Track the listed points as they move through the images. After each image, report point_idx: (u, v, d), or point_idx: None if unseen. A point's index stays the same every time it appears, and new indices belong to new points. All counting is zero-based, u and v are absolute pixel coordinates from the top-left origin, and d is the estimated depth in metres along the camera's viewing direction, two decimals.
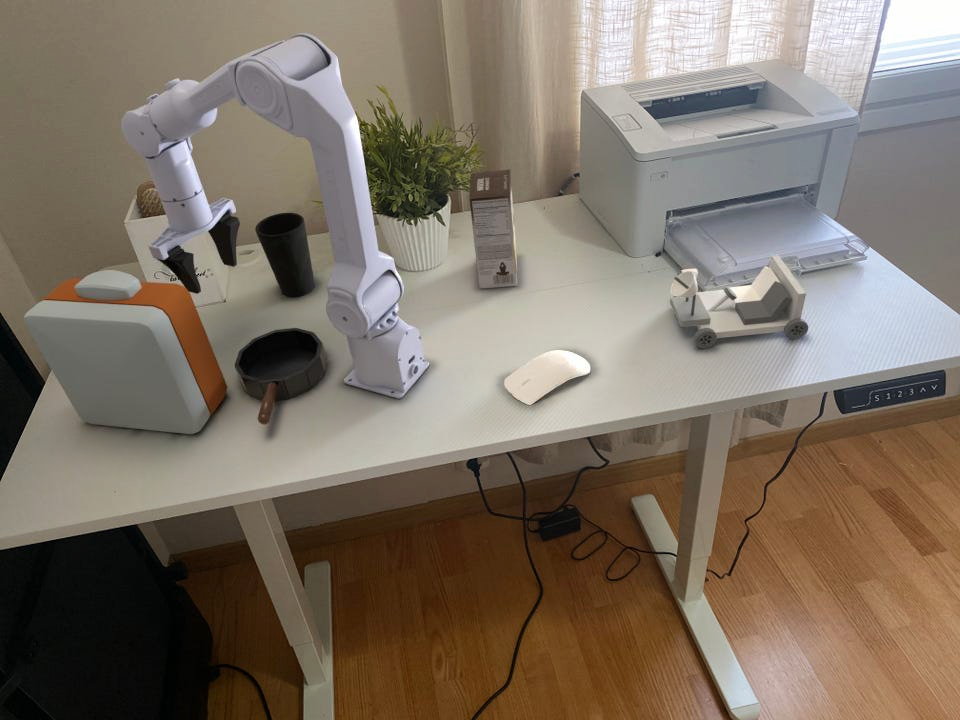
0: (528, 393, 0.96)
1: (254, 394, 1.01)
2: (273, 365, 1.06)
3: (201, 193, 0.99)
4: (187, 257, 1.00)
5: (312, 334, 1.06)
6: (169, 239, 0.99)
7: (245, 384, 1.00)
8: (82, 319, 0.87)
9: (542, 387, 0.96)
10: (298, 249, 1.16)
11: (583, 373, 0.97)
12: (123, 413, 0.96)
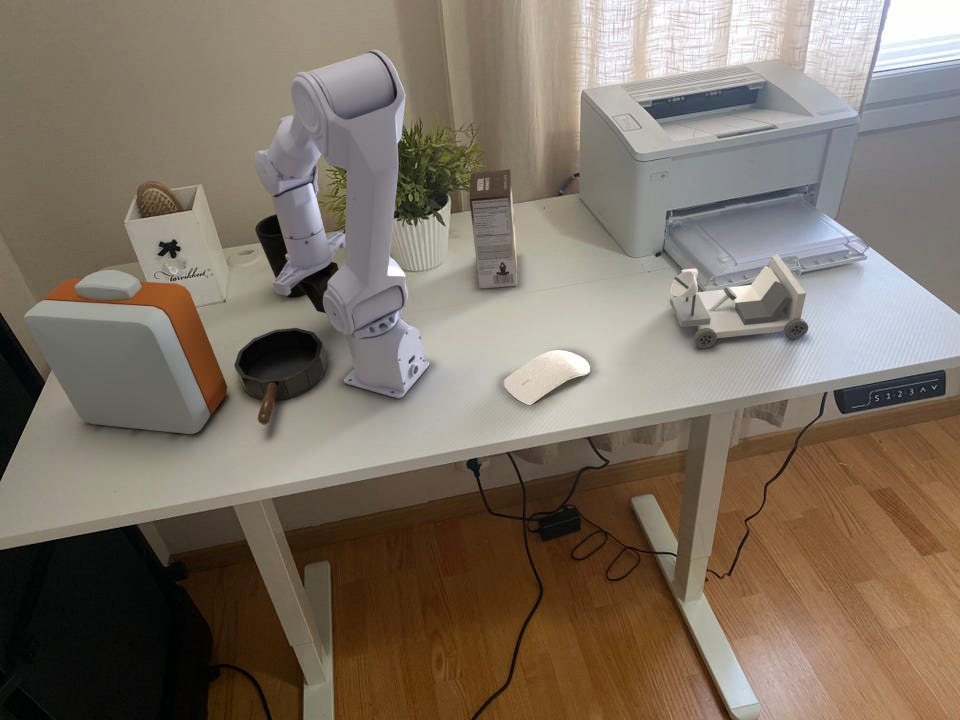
0: (528, 393, 0.96)
1: (254, 394, 1.01)
2: (273, 365, 1.06)
3: (322, 230, 1.01)
4: (324, 279, 1.04)
5: (312, 334, 1.06)
6: (292, 275, 1.01)
7: (245, 384, 1.00)
8: (82, 319, 0.87)
9: (542, 387, 0.96)
10: None
11: (583, 374, 0.98)
12: (123, 412, 0.96)
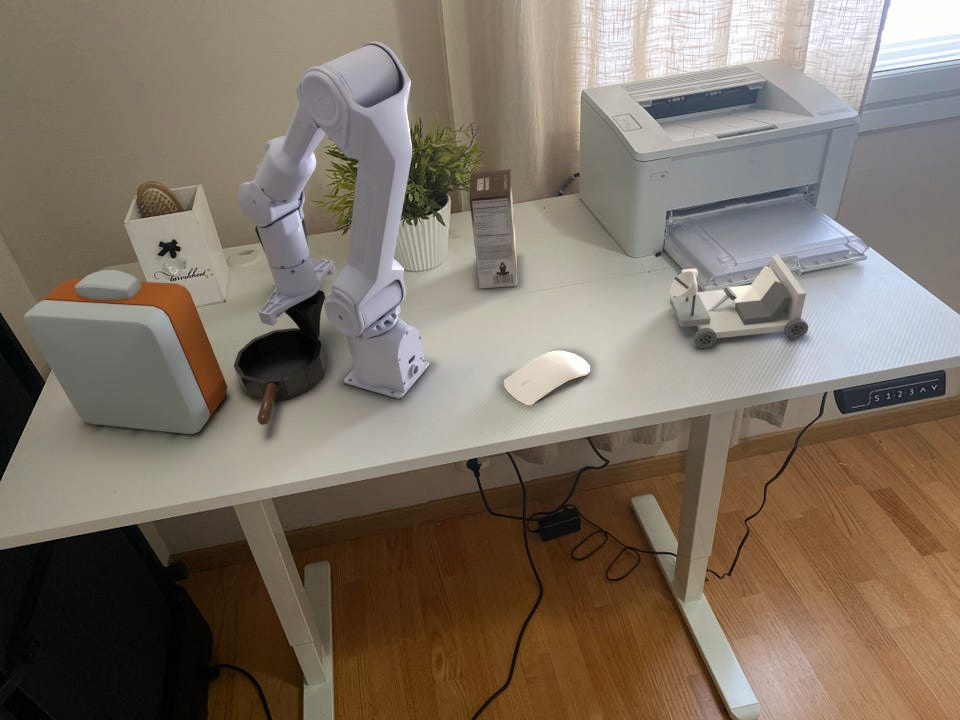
0: (528, 393, 0.96)
1: (254, 394, 1.01)
2: (273, 365, 1.06)
3: (309, 259, 1.00)
4: (311, 308, 1.03)
5: (311, 334, 1.06)
6: (278, 304, 1.00)
7: (245, 384, 1.00)
8: (82, 319, 0.87)
9: (542, 388, 0.96)
10: None
11: (583, 374, 0.98)
12: (123, 412, 0.96)
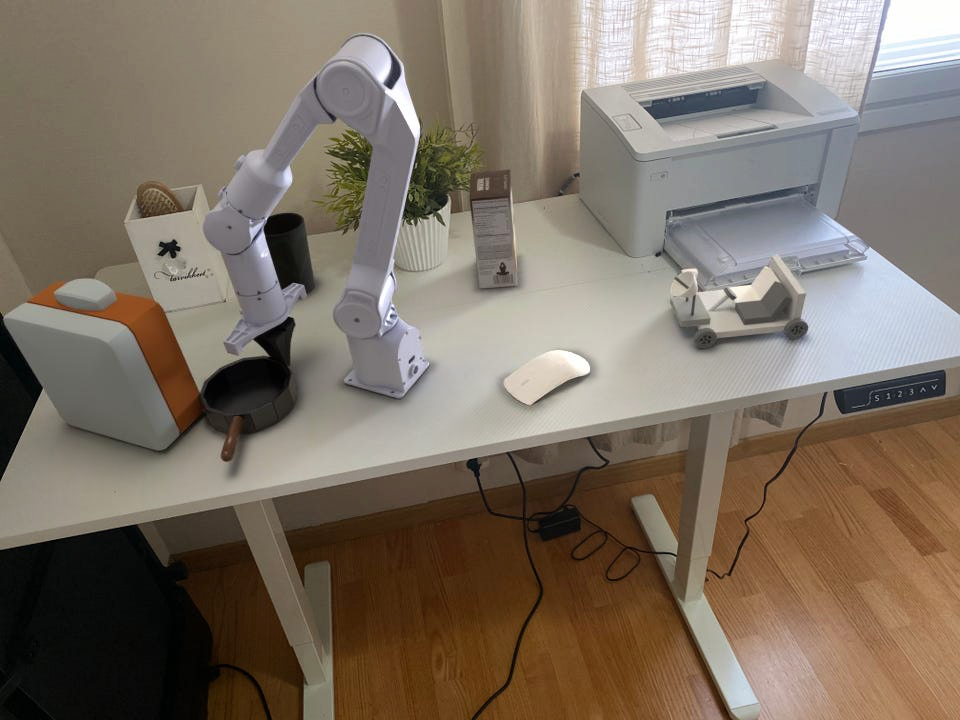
0: (528, 393, 0.96)
1: (219, 427, 0.96)
2: (241, 395, 1.01)
3: (277, 285, 0.96)
4: (280, 335, 0.98)
5: (281, 363, 1.01)
6: (244, 333, 0.95)
7: (210, 417, 0.96)
8: (51, 328, 0.86)
9: (542, 387, 0.96)
10: (298, 249, 1.16)
11: (583, 374, 0.97)
12: (96, 420, 0.95)
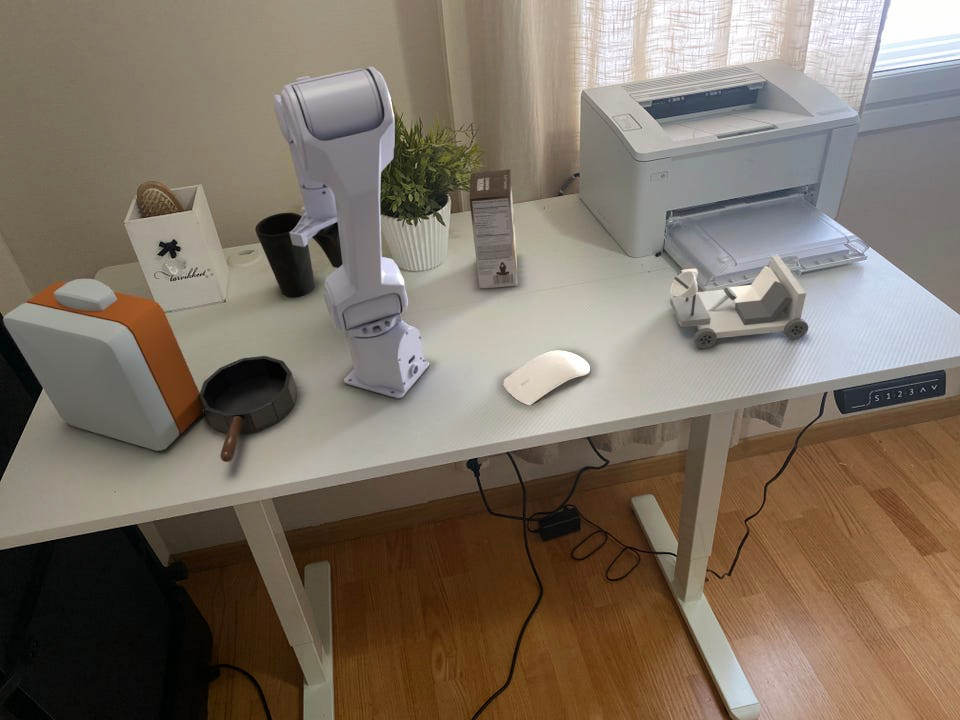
0: (527, 393, 0.96)
1: (219, 427, 0.96)
2: (241, 395, 1.01)
3: None
4: None
5: (281, 363, 1.01)
6: (309, 226, 1.00)
7: (209, 417, 0.95)
8: (51, 328, 0.86)
9: (541, 388, 0.96)
10: (298, 249, 1.16)
11: (583, 374, 0.97)
12: (96, 420, 0.95)
